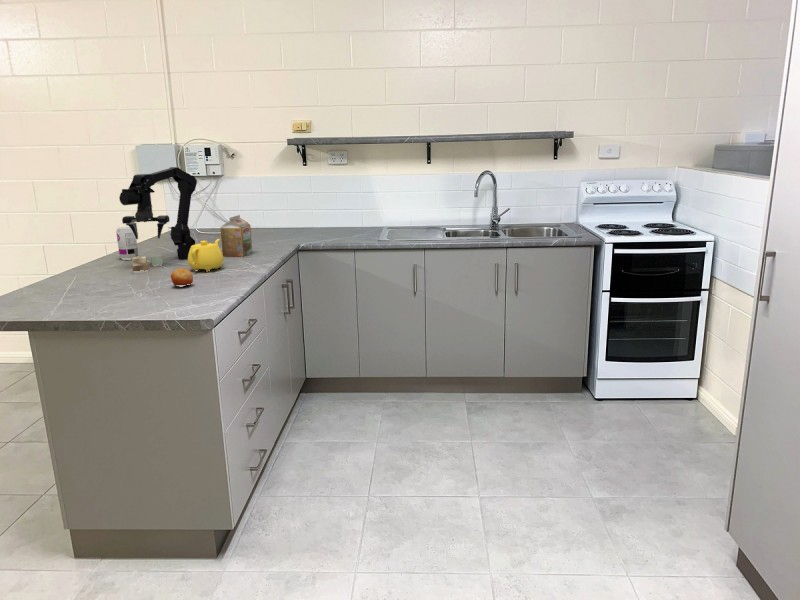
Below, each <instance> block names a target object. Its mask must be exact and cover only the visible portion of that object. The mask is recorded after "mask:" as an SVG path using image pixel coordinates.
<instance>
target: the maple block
mask: <svg viewBox="0 0 800 600" xmlns="http://www.w3.org/2000/svg"><path fill="white" fill-rule="evenodd" d="M131 262H132V266H142V265H146V264H147V263H148V262H147V256H143V255H142V256H139V257H133V259H132V260H131Z"/></svg>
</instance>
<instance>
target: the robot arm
mask: <svg viewBox="0 0 800 600" xmlns="http://www.w3.org/2000/svg"><path fill="white" fill-rule="evenodd" d="M171 178H172V179H173V181H175V182H176V183H177V189H178V191H179V201H178V208H177V209H178V210H177V215H176V216H177V218H176V224H175V225H174V226H171V227H170V233H169V236H170V239H171V241H172V242H173V244H174V246H177V249H176V253H177V255H176V256H177V258H178V260H179V259H181V260H188V254H189V251H190V248H191V246H192V245H196V240H195V239H194V238H193V237H192V236H191V229H190V227H189V217H190V209H191V208H190V207H191V201H192V195H193V193H194V192H195V191H196V188H197V183H198V179H197V178H196V177H195V176H194V175H191V174H190V173H188V172H186V171H184V170H182V169H181V168H180V167H177V166H171V167H168V168H166V169H162V170H158V171H156V172H155V171H154V172H151V173H140V174H139V173H138V174H137V173H136V174H134V175H133V178H132V180H131V183H130V185H129V186H128V188H123V189H122V188H121V192H120V194H119V197H118V198H119V202H120V203H121V205H123V206H131V205H137V207H136V208H137V209H136V211H135V214H134V215H126V216H124V217H122V219H121V220H122V223H121V224H124V225H126V226H127V227H130V228H131V229H132V231H133V233H134V235H135V237H136V240H138V239H139V232H138V226H137V223H149V222H158V223H157V224H156V226H157V239H158V240H159V239H160V238H161V234H162V231H163V228H164V226H165V225H166V224H167V223H170V216H169V215H158V216H154V213H153V205H152V198H151V197H152V195H151V194H153V193H155V192H156V191H155V190H154V189H153V188H151V187H153V186H154V185H155V184H157V183H158V182H161V181H165V180H168V179H171Z"/></svg>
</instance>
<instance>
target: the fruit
mask: <svg viewBox="0 0 800 600" xmlns="http://www.w3.org/2000/svg"><path fill="white" fill-rule="evenodd" d="M170 279H171V281H172V284H173V286H174V285H187V284H191V283H192V284H193V282H194V276H193V272H192V271H190V270H189V269H186V268H184V267H183V268H182V267H180V268H177V269H175V270H173V271H172V273H171V274H170ZM192 284H191V285H192Z"/></svg>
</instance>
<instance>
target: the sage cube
mask: <svg viewBox="0 0 800 600" xmlns="http://www.w3.org/2000/svg"><path fill="white" fill-rule="evenodd" d="M150 259H151V266H152V265H157V264H158V265H161V264H163V265H164V258H163V254H160V253H159V254H152V255H151V256H150Z"/></svg>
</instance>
